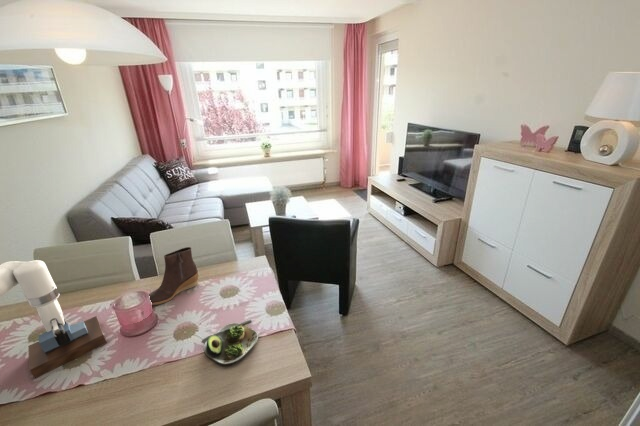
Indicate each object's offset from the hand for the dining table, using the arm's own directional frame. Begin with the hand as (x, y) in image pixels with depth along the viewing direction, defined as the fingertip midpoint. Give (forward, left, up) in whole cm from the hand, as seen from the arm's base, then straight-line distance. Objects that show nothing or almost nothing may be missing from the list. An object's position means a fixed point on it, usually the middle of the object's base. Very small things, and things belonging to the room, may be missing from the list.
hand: (63, 335), depth 103 cm
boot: (+38, +4, -7) cm, 39 cm away
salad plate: (+41, -42, -7) cm, 59 cm away
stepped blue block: (0, 0, -2) cm, 2 cm away
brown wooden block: (0, 0, -6) cm, 6 cm away
